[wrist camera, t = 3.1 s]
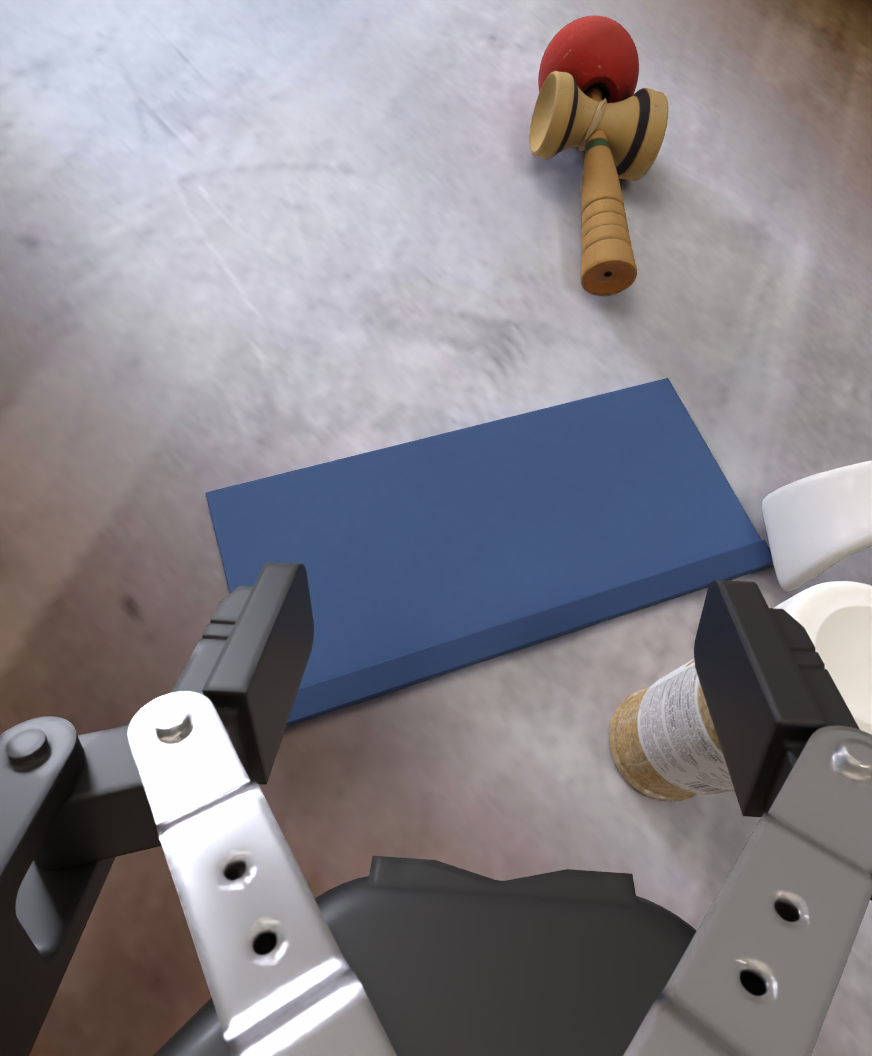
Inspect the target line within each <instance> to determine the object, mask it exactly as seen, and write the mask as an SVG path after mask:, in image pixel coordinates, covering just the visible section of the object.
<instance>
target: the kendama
mask: <svg viewBox="0 0 872 1056" xmlns="http://www.w3.org/2000/svg"><path fill="white" fill-rule="evenodd" d="M638 74H639V60H638V54H637V50H636V46H635V44H634V42H633V40H632V38H631V36H630V35H629V33H628V32H627V31H626V29H624V28H623V27H622V26H621V25H620V24H619V23H617V22H616V21H614V20H612V19H610V18H607V17H603V16H587V17H582V18H579V19H577V20H574V21H573V22H571V23H569V24H568V25H566V26H565V27H563V28H562V29H561V30H560V31H559V32H558V33H557V34H556V35H555V36H554V38H553V39H552V40H551V42H550V43H549V45H548V47H547V48H546V50H545V53H544V55H543V57H542V61H541V64H540V70H539V79H538V83H539V96H538V99H537V102H536V105H535V109H534V113H533V117H532V122H531V128H530V149H531V152H532V154H533V155H534V156H537V157H540V158H544V159H550V158H551V157H553V156H555V155H556V154H558V153H559V152H561V151H563V150H566V149H569V148H576V147H578V149H579V151H584V150H585V155H584V166H583V176H582V195H581V213H582V264H581V284H582V286H583V288H584V289H585V290H586V291H587V292H589V293H591V294H594V295H601V296H602V295H611V294H615V293H618V292H621V291H623V290H625V289H627V288H628V287H629V286H630V285H632V283H633V282H634V281H635V279H636V276H637V268H636V264H635V260H634V255H633V251H632V248H631V241H630V237H629V231H628V225H627V220H626V214H625V209H624V202H623V197H622V191H621V187H620V182H619V178H620V179H626V180H632V181H636V180H639V179H640V178H641V177H643V176H644V175H645V174H646V173H647V171H648V170H649V169H650V167H651V166H652V164H653V163H654V161H655V159H656V157H657V155H658V152H659V150H660V147H661V145H662V142H663V139H664V135H665V131H666V127H667V121H668V101H667V98H666V96H665V95H664V94H663V93H661V92H658V91H655V90H651V89H648V88H642V89H640V90H639V91H637V92H636V93H635V94H634V91H635V88H636V85H637V81H638ZM633 94H634V95H633Z"/></svg>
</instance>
